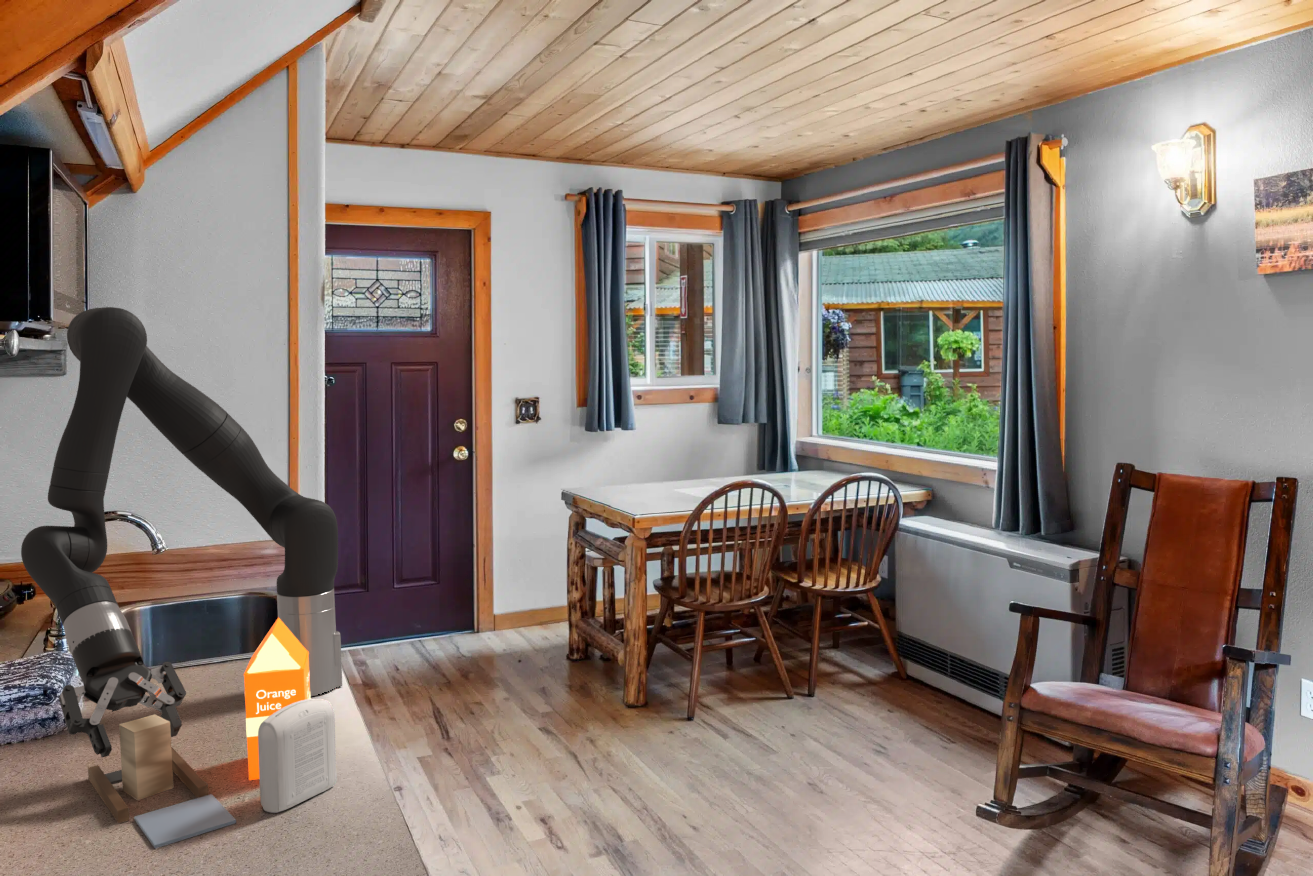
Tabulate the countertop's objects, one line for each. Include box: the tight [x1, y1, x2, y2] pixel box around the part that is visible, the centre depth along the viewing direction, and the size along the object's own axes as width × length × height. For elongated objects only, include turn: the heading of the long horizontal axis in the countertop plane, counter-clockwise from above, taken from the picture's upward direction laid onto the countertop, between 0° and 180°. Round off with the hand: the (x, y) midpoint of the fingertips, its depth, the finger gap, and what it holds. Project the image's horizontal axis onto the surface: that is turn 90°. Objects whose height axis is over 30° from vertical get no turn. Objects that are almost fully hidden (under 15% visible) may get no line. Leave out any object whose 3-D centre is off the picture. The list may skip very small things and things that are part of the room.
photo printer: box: [258, 698, 337, 814], centre depth 122 cm, size 10×4×12 cm, turn 151°
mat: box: [133, 793, 237, 849], centre depth 116 cm, size 9×10×1 cm
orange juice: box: [243, 616, 312, 781], centre depth 132 cm, size 8×9×20 cm
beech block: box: [118, 713, 175, 801], centre depth 124 cm, size 4×4×9 cm
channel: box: [87, 746, 210, 824], centre depth 125 cm, size 10×17×2 cm, turn 42°
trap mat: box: [104, 769, 122, 785], centre depth 130 cm, size 7×3×1 cm, turn 132°
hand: (142, 743), depth 124 cm, fingers open, 8 cm apart
